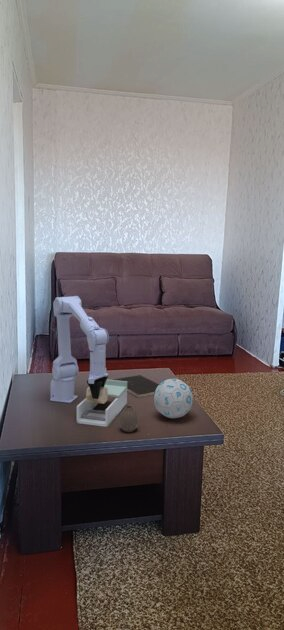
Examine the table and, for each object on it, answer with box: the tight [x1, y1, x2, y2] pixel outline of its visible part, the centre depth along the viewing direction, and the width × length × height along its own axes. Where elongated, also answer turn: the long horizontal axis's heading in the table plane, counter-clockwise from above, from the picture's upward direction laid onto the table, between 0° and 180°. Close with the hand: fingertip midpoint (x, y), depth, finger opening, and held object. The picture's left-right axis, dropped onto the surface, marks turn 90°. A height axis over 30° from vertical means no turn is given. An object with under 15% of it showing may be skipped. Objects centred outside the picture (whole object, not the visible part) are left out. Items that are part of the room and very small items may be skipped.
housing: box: [76, 389, 128, 428], centre depth 183 cm, size 12×26×6 cm, turn 166°
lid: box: [104, 378, 127, 398], centre depth 188 cm, size 12×12×3 cm
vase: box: [118, 405, 139, 433], centre depth 167 cm, size 7×7×9 cm
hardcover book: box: [112, 374, 160, 398], centre depth 215 cm, size 16×23×2 cm
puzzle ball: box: [153, 378, 194, 419], centre depth 180 cm, size 15×15×15 cm
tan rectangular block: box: [85, 386, 109, 404], centre depth 175 cm, size 7×4×5 cm, turn 76°
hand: (97, 396), depth 176 cm, fingers closed on tan rectangular block, 4 cm apart
